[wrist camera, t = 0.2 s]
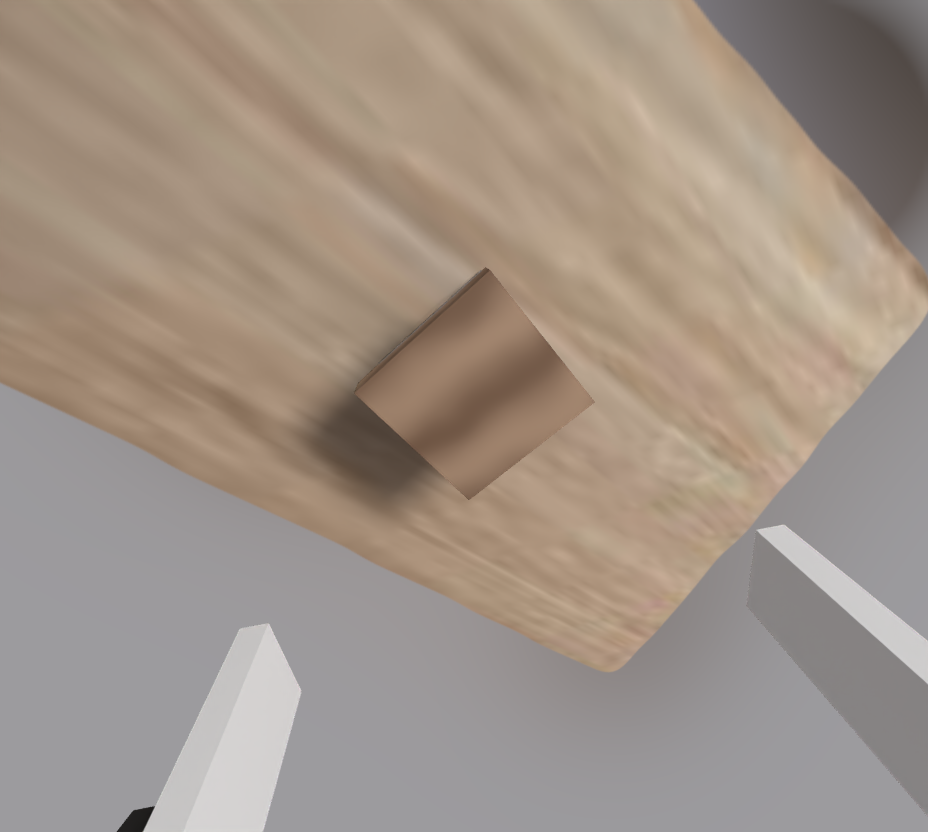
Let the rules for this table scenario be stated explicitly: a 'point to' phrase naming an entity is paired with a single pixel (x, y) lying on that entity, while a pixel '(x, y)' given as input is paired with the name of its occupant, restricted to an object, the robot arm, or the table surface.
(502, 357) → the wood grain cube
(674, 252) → the table surface
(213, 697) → the robot arm
